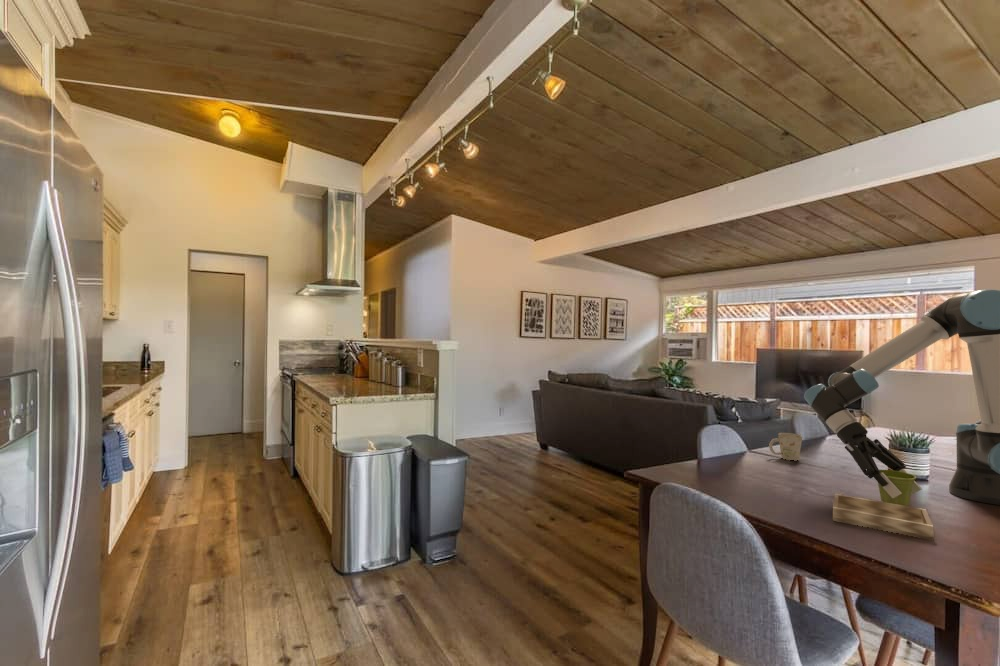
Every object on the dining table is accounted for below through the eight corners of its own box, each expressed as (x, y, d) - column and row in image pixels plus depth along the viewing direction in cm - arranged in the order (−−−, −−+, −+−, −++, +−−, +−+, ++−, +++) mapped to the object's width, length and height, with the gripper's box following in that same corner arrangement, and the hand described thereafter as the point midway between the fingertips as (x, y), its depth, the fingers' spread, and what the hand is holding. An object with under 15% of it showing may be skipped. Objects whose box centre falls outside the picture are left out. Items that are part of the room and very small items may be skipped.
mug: (806, 461, 188) (806, 437, 188) (775, 461, 188) (775, 436, 188) (794, 456, 196) (794, 433, 196) (764, 456, 196) (764, 432, 197)
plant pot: (905, 511, 128) (904, 480, 129) (866, 500, 137) (866, 471, 137) (923, 507, 132) (923, 476, 132) (885, 496, 141) (885, 468, 141)
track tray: (925, 522, 125) (925, 509, 125) (933, 541, 113) (933, 526, 113) (834, 505, 137) (834, 493, 138) (832, 520, 126) (832, 507, 126)
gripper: (859, 432, 153) (918, 495, 138) (815, 437, 145) (873, 505, 130) (877, 418, 149) (940, 482, 134) (833, 423, 140) (895, 491, 125)
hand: (907, 493), depth 132 cm, fingers closed on plant pot, 9 cm apart
